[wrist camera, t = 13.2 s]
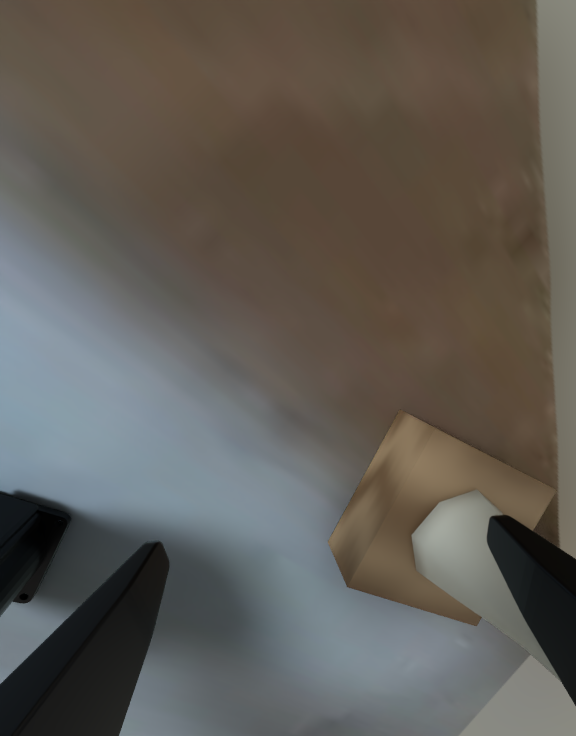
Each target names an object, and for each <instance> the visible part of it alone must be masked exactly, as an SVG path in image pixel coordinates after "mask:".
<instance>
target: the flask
mask: <svg viewBox="0 0 576 736" xmlns="http://www.w3.org/2000/svg"><path fill="white" fill-rule="evenodd" d="M493 515H503V513H502V512H501V511H500V510H499V509H498V508H497V507H496V506H495V505H493V504H492V503H491V502H490V501H489V500H488V499H487V498H486V497H485V496H484V495H482V494H481V493H480V492H479V491H478V490H474V491H471V492H468V493H465V494H462V495H459V496H456V497H453V498H450V499H447V500H444V501H442V502H439V503H438V505H437V506H436V507H435V508H434V509H433V510H432V512H431V513H430V514H429V515H428V516H427V517H426V519H425V520H424V521H423V522H422V523H421V524H420V526H419V527H418V528H417V529H416V530H415V532H414V533H413V534H412V535H411V536H412V543H413V550H414V557H415V565H416V571H417V572H419V573H420V574H422V575H423V576H424V577H426V578H427V579H428V580H430V581H431V582H432V583H434V584H435V585H437V586H438V587H439V588H441V589H442V590H444V591H445V592H446V593H448V594H449V595H450V596H452V597H453V598H455V599H456V600H458V601H459V602H460V603H462V604H463V605H465V606H466V607H468V608H469V609H471V610H472V611H473V612H475V613H476V614H478V615H479V616H481V617H482V618H484V619H485V620H486V621H488V622H489V623H490V624H492V625H493V626H494V627H496V628H497V629H498V630H500V631H501V632H503V633H504V634H505V635H507V636H508V637H509V638H511V639H512V640H513V641H515V642H516V643H517V644H519V645H520V646H522V647H523V648H524V649H525V650H526V651H527V652H529V653H530V654H531V655H532V656H533V657H534V658H535V659H536V660H538V661H539V662H540V663H541V664H542V665H543V666H544V667H545V668H546V669H548V670H549V671H550V672H551V673H552V674H553V675H554V676H555V677H557V678H558V679H559V677H558V675H557V674H556V672H555V670H554V669H553V667H552V665H551V664H550V662H549V660H548V659H547V657H546V655H545V653H544V652H543V650H542V648H541V647H540V645H539V643H538V642H537V640H536V638H535V637H534V635H533V633H532V632H531V630H530V628H529V626H528V625H527V623H526V621H525V619H524V618H523V616H522V614H521V612H520V610H519V608H518V606H517V604H516V602H515V600H514V598H513V596H512V594H511V592H510V590H509V588H508V586H507V584H506V582H505V580H504V578H503V576H502V574H501V572H500V570H499V567H498V565H497V563H496V561H495V559H494V557H493V555H492V553H491V551H490V549H489V547H488V544H487V530H488V523H489V518H490V517H491V516H493ZM559 680H560V679H559ZM560 681H561V680H560Z"/></svg>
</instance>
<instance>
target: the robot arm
mask: <svg viewBox="0 0 576 736" xmlns="http://www.w3.org/2000/svg"><path fill="white" fill-rule="evenodd" d="M58 520H61V521H63V523H60V522H59V521H58ZM70 522H71V517H70V515H69V514H67V513H64V512H61V511H58V510H54V509H51V508H47V507H44V506H41V505H37V504H34V503H30V502H27V501H24V500H20V499H17V498H13V497H10V496H7V495H3V494H0V616H1V615H2V614H3V613H4V611H5V610H6V609H7V608H8V606H9V605H10V604H11V602H12V601H13V602H17V603H28V602H30V601H31V600H32V598H33V597H34V595H35V594H36V593H37V591H38V588H39V586H40V584H41V582H42V580H43V578H44V576H45V574H46V572H47V570H48V568H49V566H50V563H51V561H52V559H53V557H54V555H55V553H56V551H57V549H58V547H59V545H60V543H61V541H62V538H63V536H64V534H65V532H66V530H67V528H68V526H69V524H70ZM487 544H488V547H489V549H490V551H491V553H492V555H493V557H494V559H495V561H496V563H497V565H498V567H499V570H500V572H501V574H502V576H503V578H504V580H505V582H506V584H507V586H508V588H509V590H510V592H511V594H512V596H513V598H514V600H515V602H516V604H517V606H518V608H519V610H520V612H521V614H522V616H523V618H524V619H525V621H526V623H527V625H528V626H529V628H530V630H531V632H532V633H533V635H534V637H535V638H536V640H537V642H538V643H539V645H540V647H541V648H542V650H543V652H544V653H545V655H546V657H547V659H548V660H549V662H550V664H551V665H552V667H553V669H554V670H555V672H556V674H557V675H558V677H559V679H560V680H561V682H562V684H563V685H564V687H565V689H566V690H567V692H568V694H569V695H570V697H571V699H572V700H573V702H574V704H575V706H576V559H575V558H573V557H572V556H570V555H569V554H567V553H565V552H564V551H563V550H561V549H560V548H558V547H557V546H555V545H554V544H552V543H551V542H549V541H547V540H546V539H544V538H543V537H541V536H540V535H538V534H537V533H535V532H534V531H532V530H531V529H529V528H528V527H526V526H525V525H523V524H522V523H520V522H519V521H517V520H515V519H514V518H512V517H511V516H508V515H493V516H491V517H490V518H489V523H488V530H487ZM168 571H169V559H168V556H167V554H166V551H165V549H164V546H163V544H162V542H160V541H151V542H146V543H145V544H143V545H142V546H141V547H140V548H139V549H138V550H137V551H136V552H135V553H134V554H133V555H132V556H131V557H130V558H129V559H128V560H127V561H126V562H125V563H124V564H123V565H122V566H121V567H120V568H119V569H118V570H117V571H116V572H115V573H114V574H113V575H111V576H110V577H109V578H108V579H107V580H106V581H105V582H104V583H103V584H102V585H101V586H100V587H99V588H98V589H97V590H96V591H95V592H94V593H93V594H92V595H91V596H90V597H89V598H88V599H87V600H86V601H85V602H84V603H83V604H82V605H81V606H80V607H79V608H78V609H77V610H76V611H75V612H74V613H73V614H72V615H71V616H70V617H69V618H68V619H67V620H65V621H64V622H63V623H62V624H61V625H60V626H59V627H58V628H57V629H56V630H55V631H54V632H53V633H52V634H51V635H50V636H49V637H48V638H47V639H46V640H45V641H44V642H43V643H42V644H41V645H40V646H39V647H38V648H37V649H36V650H35V651H34V652H33V653H32V654H31V655H30V656H29V657H28V658H27V659H26V660H25V661H24V662H23V663H22V664H20V665H19V666H18V667H17V668H16V669H15V670H14V671H13V672H12V673H11V674H10V675H9V676H8V677H7V678H6V679H5V680H4V681H3V682H2V683H1V684H0V736H119V734H120V731H121V728H122V725H123V722H124V719H125V716H126V713H127V710H128V707H129V704H130V701H131V698H132V695H133V692H134V689H135V686H136V683H137V680H138V677H139V674H140V671H141V668H142V665H143V662H144V659H145V656H146V653H147V651H148V648H149V644H150V641H151V638H152V635H153V631H154V628H155V624H156V620H157V616H158V612H159V608H160V604H161V600H162V596H163V592H164V588H165V583H166V579H167V575H168ZM25 593H26V594H25Z"/></svg>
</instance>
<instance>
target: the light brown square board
mask: <svg viewBox="0 0 576 736" xmlns="http://www.w3.org/2000/svg"><path fill="white" fill-rule="evenodd" d="M474 490H478V491H479V492H480V493H481V494H482V495H484V496H485V497H486V498H487V499H488V500H489V501H490V502H491V503H492V504H493V505H495V506H496V507H497V508H498V509H499V510H500V511H501V512H502V513H503V515H508V516H511V517H512V518H514V519H515V520H517V521H519V522H520V523H522V524H523V525H525V526H526V527H528V528H529V529H531V530H532V531H533V530H534V528H535V527H536V525H537V523H538V521H539V520H540V518H541V516H542V515H543V513H544V511H545V510H546V508H547V506H548V505H549V503H550V501H551V499H552V498H553V496H554V494H555V493H556V491H557V490H555V489H554V488H552V487H550V486H548V485H546V484H544V483H542V482H540V481H538V480H536V479H534V478H532V477H531V476H529V475H527V474H525V473H523V472H521V471H519V470H517V469H515V468H513V467H511V466H510V465H508V464H506V463H504V462H502V461H500V460H498V459H496V458H494V457H492V456H490V455H488V454H486V453H484V452H482V451H480V450H478V449H476V448H474V447H472V446H470V445H468V444H466V443H465V442H463V441H461V440H459V439H457V438H455V437H453V436H451V435H449V434H447V433H445V432H443V431H441V430H439V429H437V428H435V427H433V426H431V425H429V424H427V423H425V422H423V421H421V420H419V419H417V418H416V417H414V416H412V415H410V414H408V413H406V412H404V411H402V410H399V412H398V414H397V416H396V418H395V419H394V421H393V423H392V425H391V427H390V429H389V431H388V432H387V434H386V436H385V438H384V440H383V442H382V443H381V445H380V447H379V449H378V451H377V453H376V454H375V456H374V458H373V460H372V462H371V464H370V465H369V467H368V469H367V471H366V473H365V475H364V476H363V478H362V480H361V482H360V484H359V486H358V487H357V489H356V491H355V493H354V495H353V497H352V499H351V500H350V502H349V504H348V506H347V508H346V510H345V511H344V513H343V515H342V517H341V519H340V521H339V522H338V524H337V526H336V528H335V530H334V532H333V533H332V535H331V537H330V539H329V541H328V544H329V546H330V548H331V550H332V553H333V555H334V557H335V560H336V562H337V564H338V567H339V569H340V571H341V574H342V576H343V578H344V581H345V583H346V585H347V587H349V588H352V589H355V590H359V591H362V592H365V593H369V594H372V595H375V596H379V597H382V598H385V599H388V600H392V601H395V602H398V603H402V604H405V605H408V606H411V607H415V608H418V609H421V610H425V611H428V612H431V613H435V614H438V615H441V616H444V617H448V618H451V619H454V620H458V621H461V622H464V623H467V624H471V625H474V626H477V625H478V623H479V621H480V620H481V618H482V617H481V616H479V615H478V614H476V613H475V612H473V611H472V610H471V609H469V608H468V607H466V606H465V605H463V604H462V603H460V602H459V601H458V600H456V599H455V598H453V597H452V596H450V595H449V594H448V593H446V592H445V591H444V590H442V589H441V588H439V587H438V586H437V585H435V584H434V583H432V582H431V581H430V580H428V579H427V578H426V577H424V576H423V575H422V574H420V573H419V572H417V571H416V565H415V557H414V550H413V543H412V536H411V535H412V534H413V533H414V532H415V530H416V529H417V528H418V527H419V526H420V524H421V523H422V522H423V521H424V520H425V519H426V517H427V516H428V515H429V514H430V513H431V512H432V510H433V509H434V508H435V507H436V506H437V505H438V503H439V502H442V501H444V500H447V499H450V498H453V497H456V496H459V495H462V494H465V493H468V492H471V491H474Z"/></svg>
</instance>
